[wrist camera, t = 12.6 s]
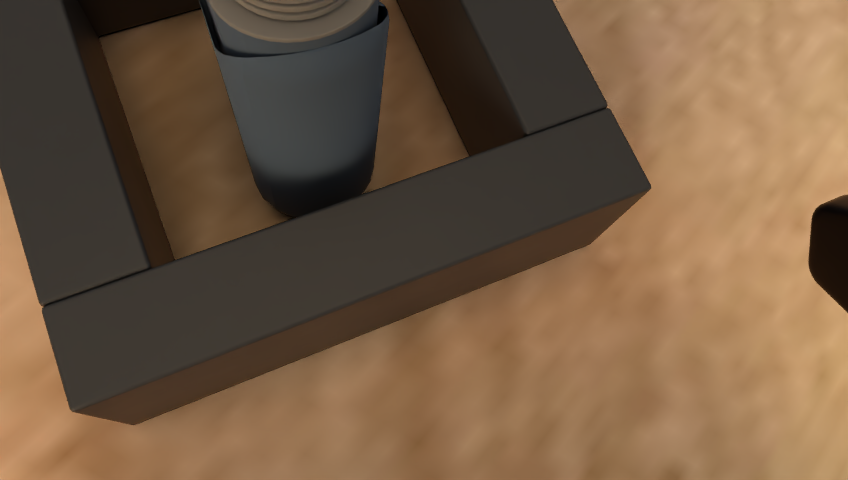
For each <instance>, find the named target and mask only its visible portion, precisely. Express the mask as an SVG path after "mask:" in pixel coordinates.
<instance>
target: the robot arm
mask: <svg viewBox="0 0 848 480" xmlns="http://www.w3.org/2000/svg"><path fill="white" fill-rule="evenodd" d="M809 269H810V272H811V274H812V276H813V278H814V279H815V281H816V282H817V283H818V284H819V285H820V286H821V287H822V288H823V289H824V290H825V291H826V292H827V293H828V294H829V295H830V296H831V297H832V298H833V299H834V300H835V301H836V302H837V303H838V304H839V305H840V306H841V307H842V308H843V309H844V310H846V311H847V312H848V195H843V196H840V197H838V198H835V199H833V200H831V201H828V202H826V203H824V204H821V205H820V206H819V207H817V208H816V210H815V211H814V213H813V215H812V222H811V235H810V248H809Z"/></svg>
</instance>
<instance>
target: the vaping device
mask: <svg viewBox="0 0 848 480" xmlns="http://www.w3.org/2000/svg"><path fill="white" fill-rule="evenodd" d="M199 2H200V6H201V9H202V12H203V15H204V18H205V22H206V25H207V28H208V31H209V35H210V38H211V41H212V44H213V47H214V51H215V54H216V57H217V60H218V64H219V67H220V70H221V73H222V77H223V80H224V83H225V86H226V89H227V93H228V96H229V99H230V102H231V106H232V109H233V112H234V115H235V119H236V122H237V125H238V128H239V131H240V135H241V138H242V141H243V144H244V148H245V151H246V154H247V157H248V160H249V164H250V167H251V170H252V173H253V177H254V180H255V183H256V185H257V187H258V189H259V191H260V193H261V195H262V197H263V198H264V199H265V200H266V201H267V202H269V203H270V204H271V205H272V206H273V207H275V208H276V209H277V210H278V211H280V212H282V213H284V214H287V215H290V216H293V217H299V216H302V215H305V214H308V213H311V212H313V211H316V210H319V209H322V208H325V207H328V206H331V205H333V204H336V203H339V202H342V201H345V200H348V199H350V198H353V197H356V196H359V195H361V194H362V193H363V191H364V190H365V188H366V187H367V185H368V184H369V182H370V180H371V176H372V172H373V168H374V160H375V151H376V141H377V132H378V122H379V113H380V103H381V94H382V84H383V75H384V66H385V56H386V47H387V37H388V28H389V16H388V10H387V8H386V6H385V5H383V4H382V3H381V2H380V1H379V0H199Z"/></svg>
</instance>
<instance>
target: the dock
mask: <svg viewBox="0 0 848 480" xmlns="http://www.w3.org/2000/svg"><path fill="white" fill-rule="evenodd" d="M397 1H398V3H399V5H400V7H401V10H402V12H403V14H404V16H405V18H406V20H407V22H408V24H409V27H410V29H411V31H412V33H413V35H414V37H415V39H416V41H417V44H418V46H419V48H420V50H421V52H422V54H423V56H424V59H425V61H426V63H427V65H428V67H429V69H430V71H431V73H432V76H433V78H434V80H435V82H436V84H437V86H438V88H439V91H440V93H441V95H442V97H443V99H444V101H445V103H446V105H447V108H448V110H449V112H450V114H451V116H452V118H453V120H454V123H455V125H456V127H457V129H458V131H459V133H460V135H461V137H462V140H463V142H464V144H465V146H466V148H467V150H468V152H469V155H470V157H467V158H464V159H461V160H458V161H455V162H453V163H450V164H447V165H444V166H441V167H438V168H436V169H433V170H430V171H427V172H424V173H421V174H419V175H416V176H413V177H410V178H407V179H404V180H401V181H399V182H396V183H393V184H390V185H387V186H384V187H382V188H379V189H376V190H373V191H370V192H367V193H365V194H362V195H359V196H356V197H353V198H350V199H348V200H345V201H342V202H339V203H336V204H333V205H331V206H328V207H325V208H322V209H319V210H316V211H313V212H311V213H308V214H305V215H302V216H299V217H296V218H294V219H291V220H288V221H285V222H282V223H279V224H277V225H274V226H271V227H268V228H265V229H262V230H260V231H257V232H254V233H251V234H248V235H245V236H243V237H240V238H237V239H234V240H231V241H228V242H225V243H223V244H220V245H217V246H214V247H211V248H208V249H206V250H203V251H200V252H197V253H194V254H191V255H189V256H186V257H183V258H180V259H177V260H174V257H173V254H172V251H171V248H170V246H169V243H168V240H167V237H166V234H165V231H164V228H163V225H162V222H161V219H160V216H159V213H158V210H157V207H156V205H155V202H154V199H153V196H152V193H151V190H150V187H149V184H148V181H147V178H146V175H145V172H144V169H143V167H142V164H141V161H140V158H139V155H138V152H137V149H136V146H135V143H134V140H133V137H132V134H131V131H130V129H129V126H128V123H127V120H126V117H125V114H124V111H123V108H122V105H121V102H120V99H119V96H118V93H117V91H116V88H115V85H114V82H113V79H112V76H111V73H110V70H109V67H108V64H107V61H106V58H105V55H104V52H103V50H102V47H101V44H100V41H99V38H98V36H100V35H104V34H107V33H111V32H115V31H118V30H122V29H125V28H129V27H133V26H136V25H140V24H143V23H147V22H151V21H154V20H158V19H161V18H165V17H169V16H172V15H176V14H179V13H183V12H186V11H190V10H194V9H197V8H201V6H200V2H199V0H0V168H1V172H2V175H3V179H4V182H5V186H6V189H7V193H8V196H9V200H10V203H11V207H12V210H13V214H14V217H15V220H16V224H17V227H18V231H19V234H20V238H21V241H22V245H23V248H24V252H25V255H26V259H27V262H28V266H29V269H30V273H31V276H32V280H33V283H34V287H35V290H36V293H37V297H38V300H39V303H40V305H41V306H43V308H42V314H43V317H44V321H45V324H46V328H47V331H48V335H49V338H50V342H51V345H52V349H53V352H54V356H55V359H56V363H57V366H58V370H59V373H60V376H61V380H62V383H63V387H64V390H65V394H66V397H67V401H68V404H69V408H70V410H71V411H72V412H76V413H80V414H85V415H89V416H94V417H98V418H103V419H108V420H112V421H117V422H121V423H126V424H130V425H135V424H138V423H140V422H143V421H145V420H148V419H150V418H153V417H156V416H158V415H161V414H163V413H166V412H168V411H171V410H173V409H176V408H178V407H181V406H183V405H186V404H188V403H191V402H193V401H196V400H198V399H201V398H203V397H206V396H208V395H211V394H213V393H216V392H219V391H221V390H224V389H226V388H229V387H231V386H234V385H236V384H239V383H241V382H244V381H246V380H249V379H251V378H254V377H256V376H259V375H261V374H264V373H266V372H269V371H271V370H274V369H276V368H279V367H282V366H284V365H287V364H289V363H292V362H294V361H297V360H299V359H302V358H304V357H307V356H309V355H312V354H314V353H317V352H319V351H322V350H324V349H327V348H329V347H332V346H334V345H337V344H339V343H342V342H345V341H347V340H350V339H352V338H355V337H357V336H360V335H362V334H365V333H367V332H370V331H372V330H375V329H377V328H380V327H382V326H385V325H387V324H390V323H392V322H395V321H397V320H400V319H402V318H405V317H408V316H410V315H413V314H415V313H418V312H420V311H423V310H425V309H428V308H430V307H433V306H435V305H438V304H440V303H443V302H445V301H448V300H450V299H453V298H455V297H458V296H460V295H463V294H465V293H468V292H471V291H473V290H476V289H478V288H481V287H483V286H486V285H488V284H491V283H493V282H496V281H498V280H501V279H503V278H506V277H508V276H511V275H513V274H516V273H518V272H521V271H523V270H526V269H528V268H531V267H534V266H536V265H539V264H541V263H544V262H546V261H549V260H551V259H554V258H556V257H559V256H561V255H564V254H566V253H569V252H571V251H574V250H576V249H579V248H581V247H584V246H586V245H589V244H591V243H592V242H593V241H594V240H595V239H596V238H597V237H598V236H599V235H601V234H602V233H603V232H604V231H605V230H606V229H607V228H608V227H609V226H611V225H612V224H613V223H614V222H615V221H616V220H617V219H618V218H619V217H620V216H622V215H623V214H624V213H625V212H626V211H627V210H628V209H629V208H630V207H631V206H633V205H634V204H635V203H636V202H637V201H638V200H639V199H640V198H641V197H642V196H644V195H645V194H646V193H647V192H648V191H649V190H650V189H651V185H650V183H649V181H648V179H647V177H646V175H645V173H644V171H643V170H642V168H641V166H640V164H639V162H638V160H637V158H636V156H635V154H634V153H633V151H632V149H631V147H630V145H629V143H628V141H627V139H626V138H625V136H624V134H623V132H622V130H621V128H620V126H619V124H618V123H617V121H616V119H615V117H614V115H613V113H612V111H611V110H610V109H609V108H607V102H606V100H605V98H604V96H603V95H602V93H601V91H600V89H599V87H598V85H597V83H596V81H595V79H594V78H593V76H592V74H591V72H590V70H589V68H588V66H587V64H586V63H585V61H584V59H583V57H582V55H581V53H580V51H579V49H578V48H577V46H576V44H575V42H574V40H573V38H572V36H571V34H570V33H569V31H568V29H567V27H566V25H565V23H564V21H563V19H562V17H561V16H560V14H559V12H558V10H557V8H556V6H555V4H554V2H553V1H552V0H397Z"/></svg>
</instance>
